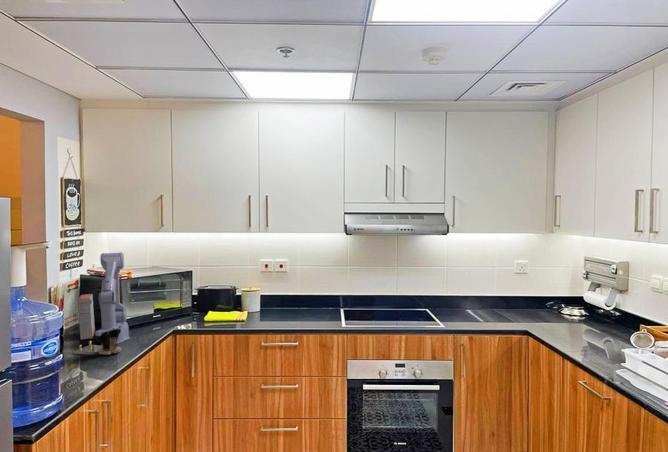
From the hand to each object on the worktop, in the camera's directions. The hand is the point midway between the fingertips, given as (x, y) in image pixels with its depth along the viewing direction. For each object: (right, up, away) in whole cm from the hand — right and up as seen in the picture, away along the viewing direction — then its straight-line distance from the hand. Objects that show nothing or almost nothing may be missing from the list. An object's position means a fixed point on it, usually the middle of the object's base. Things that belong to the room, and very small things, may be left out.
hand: (109, 347), depth 203 cm
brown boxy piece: (0, -2, 0) cm, 2 cm away
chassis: (-11, -3, +5) cm, 12 cm away
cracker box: (-27, -3, +31) cm, 41 cm away
